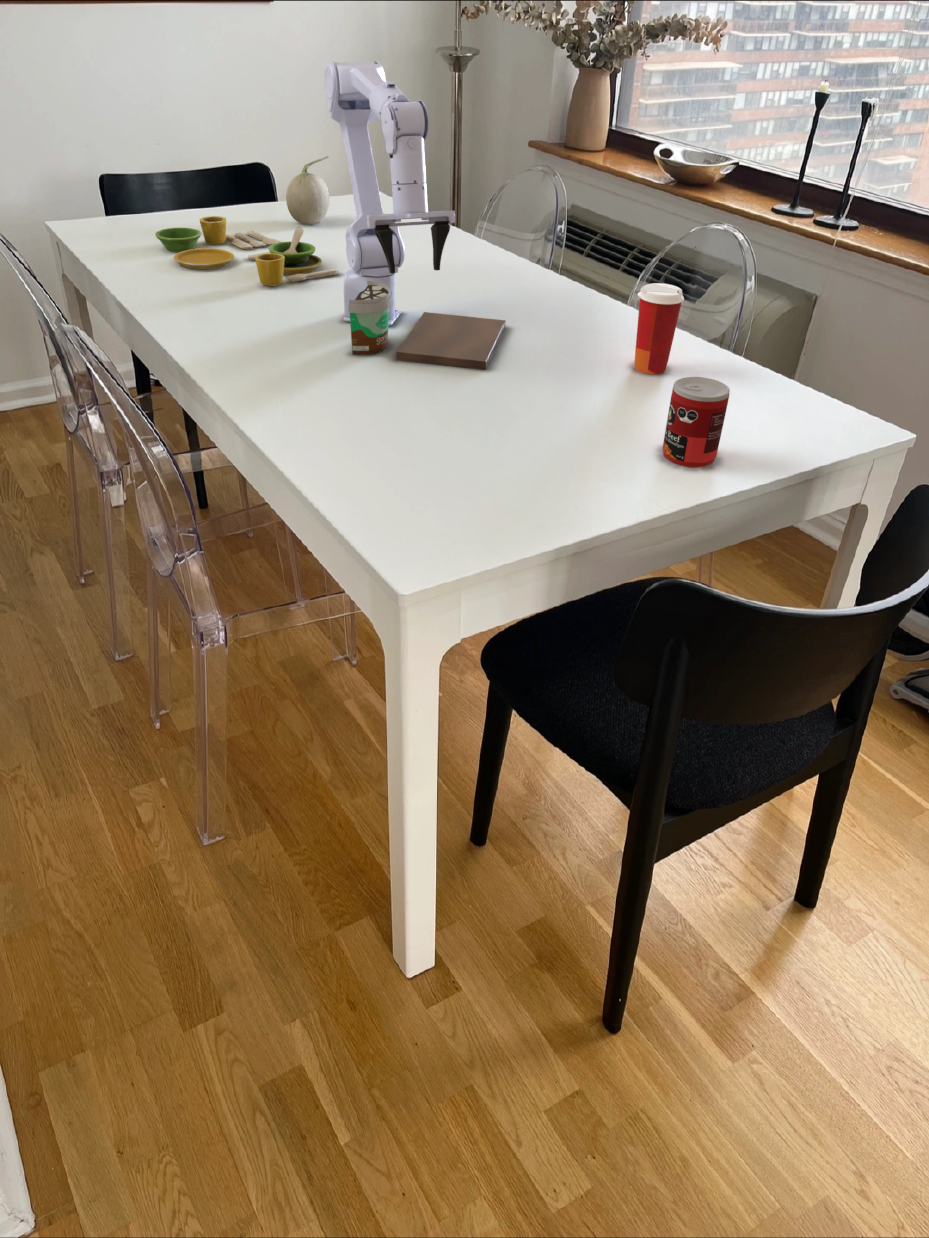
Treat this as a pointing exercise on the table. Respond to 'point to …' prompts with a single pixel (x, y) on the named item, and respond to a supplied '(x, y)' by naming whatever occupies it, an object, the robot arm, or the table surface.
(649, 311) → the paper cup
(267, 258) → the tableware set
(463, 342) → the walnut board
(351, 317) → the food container
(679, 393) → the canned food
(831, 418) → the table surface
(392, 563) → the table surface
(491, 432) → the table surface
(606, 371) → the table surface
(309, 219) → the fruit
